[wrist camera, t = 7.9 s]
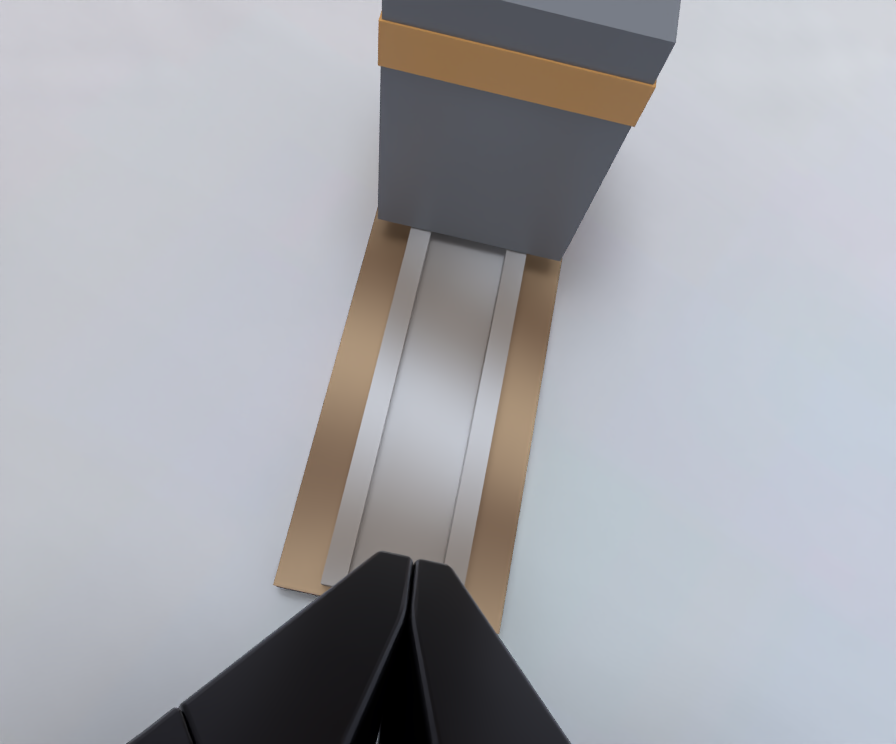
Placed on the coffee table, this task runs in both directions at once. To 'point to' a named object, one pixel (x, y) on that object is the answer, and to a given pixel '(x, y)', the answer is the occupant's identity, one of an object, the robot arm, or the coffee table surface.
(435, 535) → the rail mount
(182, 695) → the coffee table surface
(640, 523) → the coffee table surface
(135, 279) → the coffee table surface
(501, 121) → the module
